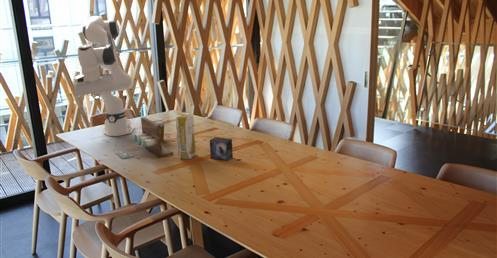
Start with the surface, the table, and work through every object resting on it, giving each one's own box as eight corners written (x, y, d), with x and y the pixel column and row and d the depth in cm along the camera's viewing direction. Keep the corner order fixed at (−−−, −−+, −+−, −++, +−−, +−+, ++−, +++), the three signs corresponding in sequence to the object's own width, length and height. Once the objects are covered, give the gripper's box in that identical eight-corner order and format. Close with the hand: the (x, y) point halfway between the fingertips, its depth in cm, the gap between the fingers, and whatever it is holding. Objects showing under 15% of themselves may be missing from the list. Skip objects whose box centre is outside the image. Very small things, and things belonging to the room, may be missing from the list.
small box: (209, 158, 223) (208, 139, 220) (216, 155, 229) (215, 136, 226) (227, 161, 218) (226, 142, 215) (233, 157, 224) (232, 138, 221)
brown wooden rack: (159, 157, 227) (156, 125, 222) (143, 147, 245) (140, 117, 240) (173, 154, 231) (170, 123, 226) (156, 145, 250) (154, 115, 245)
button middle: (140, 145, 229) (139, 138, 228) (137, 144, 233) (136, 136, 231) (153, 143, 233) (152, 135, 232) (150, 141, 237) (149, 133, 236)
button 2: (144, 149, 224) (144, 141, 222) (141, 147, 227) (141, 139, 226) (158, 146, 228) (157, 138, 227) (155, 144, 231) (154, 136, 230)
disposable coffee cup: (168, 138, 262) (166, 120, 258) (163, 143, 252) (162, 124, 249) (153, 138, 263) (151, 120, 259) (148, 143, 253) (146, 124, 250)
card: (122, 159, 226) (122, 157, 226) (115, 153, 236) (115, 152, 236) (133, 156, 230) (133, 155, 229) (126, 151, 239) (125, 150, 239)
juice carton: (191, 159, 222) (188, 115, 216) (177, 159, 224) (173, 115, 217) (197, 154, 231) (194, 111, 224) (183, 153, 232) (180, 111, 226)
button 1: (135, 143, 235) (134, 135, 234) (132, 141, 238) (132, 133, 237) (148, 140, 239) (148, 132, 238) (145, 138, 242) (145, 131, 241)
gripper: (110, 71, 231) (115, 95, 236) (71, 77, 224) (77, 102, 229) (112, 73, 225) (117, 98, 231) (72, 80, 218) (78, 105, 224)
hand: (97, 100), depth 230 cm, fingers closed
